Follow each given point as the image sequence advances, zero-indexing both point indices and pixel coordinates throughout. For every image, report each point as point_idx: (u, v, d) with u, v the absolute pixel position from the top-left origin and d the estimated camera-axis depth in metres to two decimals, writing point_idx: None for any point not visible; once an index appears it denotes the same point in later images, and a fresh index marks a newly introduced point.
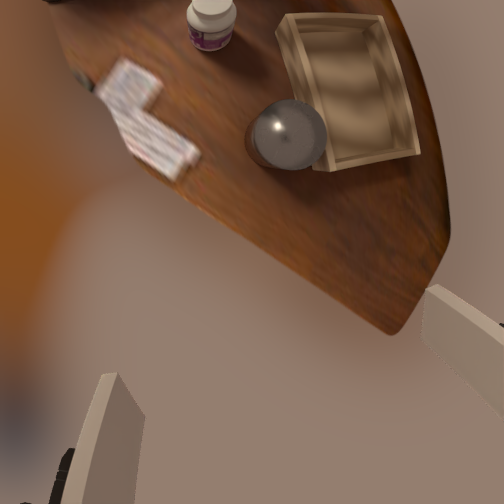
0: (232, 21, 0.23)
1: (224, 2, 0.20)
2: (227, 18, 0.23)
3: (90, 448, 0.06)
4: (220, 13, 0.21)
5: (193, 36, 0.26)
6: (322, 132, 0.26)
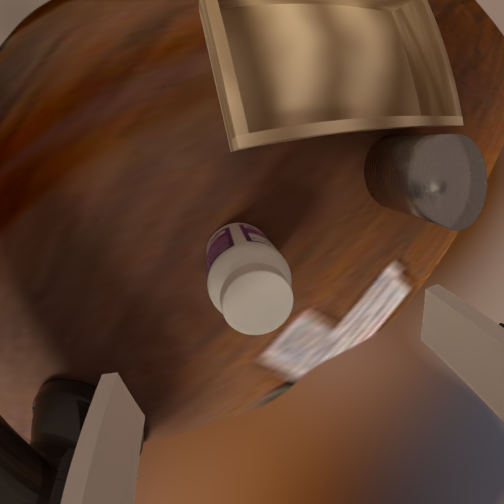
0: (274, 250, 0.18)
1: (266, 285, 0.15)
2: (276, 263, 0.17)
3: (90, 448, 0.06)
4: None
5: None
6: (461, 140, 0.15)
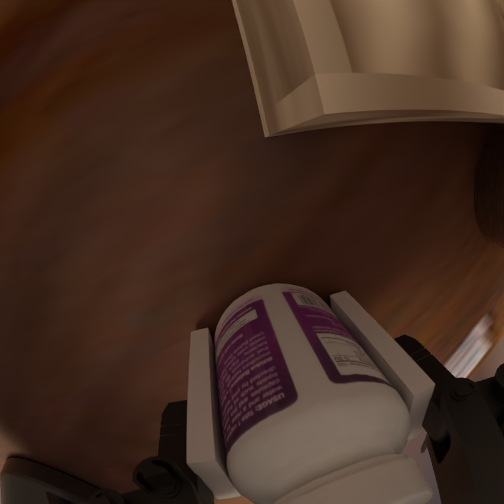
0: (392, 397, 0.06)
1: None
2: (399, 430, 0.05)
3: (204, 392, 0.08)
4: (432, 492, 0.04)
5: None
6: None
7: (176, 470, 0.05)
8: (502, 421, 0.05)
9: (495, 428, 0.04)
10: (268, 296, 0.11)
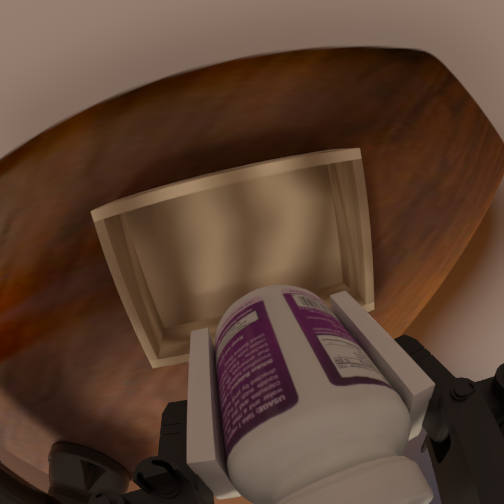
0: (393, 399, 0.06)
1: None
2: (399, 432, 0.05)
3: (204, 392, 0.08)
4: (432, 494, 0.04)
5: None
6: None
7: (176, 470, 0.05)
8: (502, 421, 0.05)
9: (495, 428, 0.04)
10: (268, 298, 0.11)
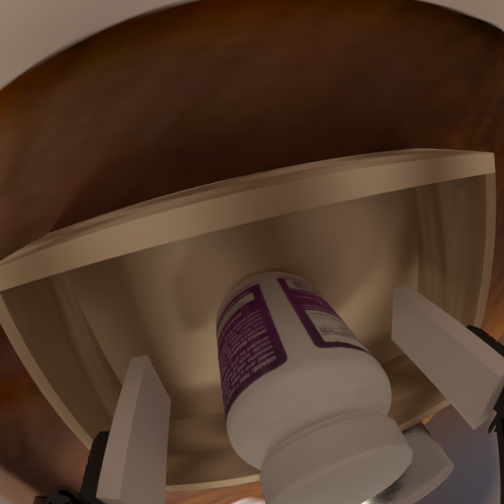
0: (371, 363, 0.07)
1: (371, 469, 0.05)
2: (378, 393, 0.07)
3: (126, 427, 0.07)
4: (412, 452, 0.05)
5: None
6: (422, 478, 0.09)
7: (78, 499, 0.04)
8: None
9: None
10: (264, 281, 0.12)
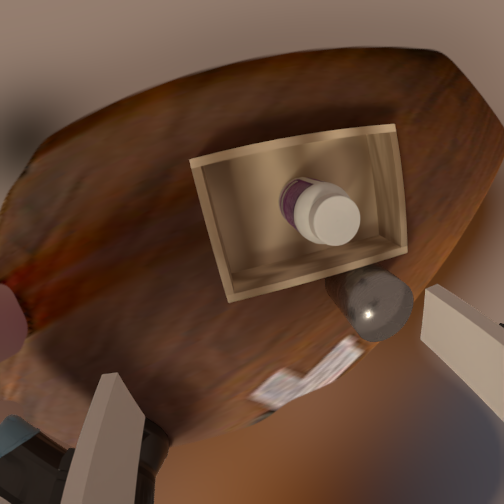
0: (341, 188, 0.24)
1: (343, 206, 0.21)
2: None
3: (90, 448, 0.06)
4: (358, 210, 0.22)
5: None
6: (389, 285, 0.26)
7: None
8: None
9: None
10: (300, 178, 0.28)
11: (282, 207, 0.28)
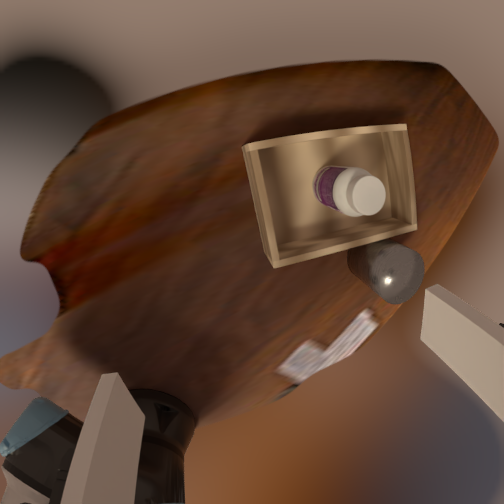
0: (368, 172, 0.29)
1: (373, 184, 0.26)
2: None
3: (90, 448, 0.06)
4: (384, 188, 0.27)
5: None
6: (405, 253, 0.31)
7: None
8: None
9: None
10: (331, 166, 0.33)
11: (317, 189, 0.33)
